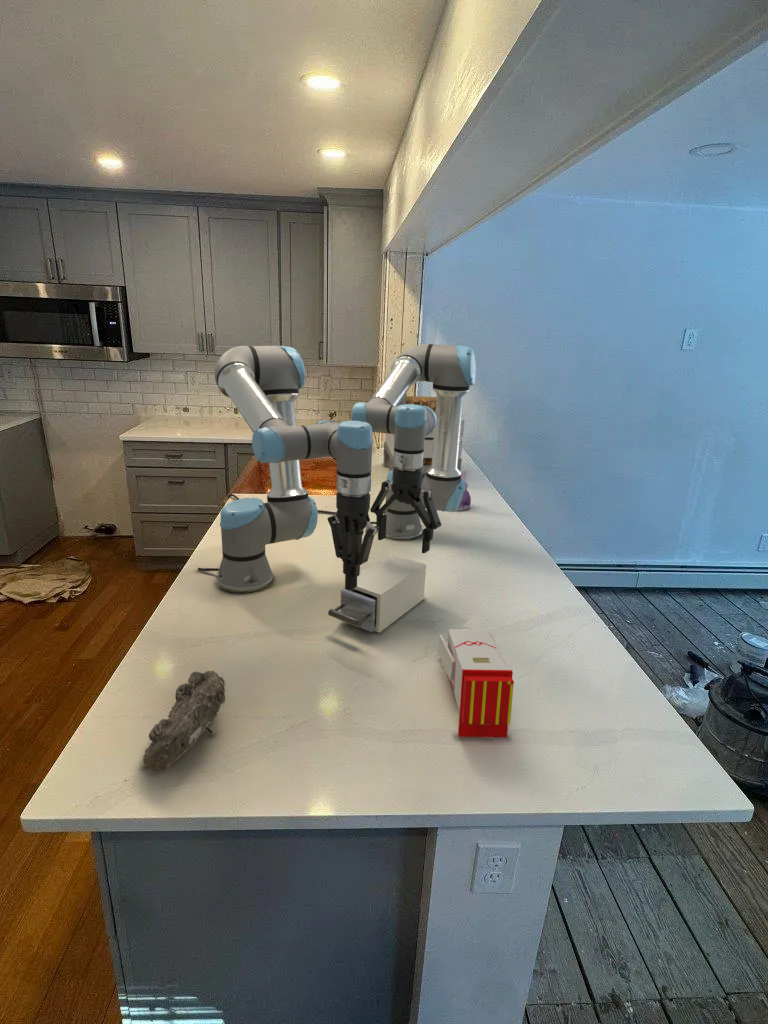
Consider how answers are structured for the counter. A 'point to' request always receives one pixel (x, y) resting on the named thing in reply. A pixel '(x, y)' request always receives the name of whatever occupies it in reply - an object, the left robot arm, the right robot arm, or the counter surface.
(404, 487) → the right robot arm
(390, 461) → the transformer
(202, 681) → the fossil
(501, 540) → the counter surface
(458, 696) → the white and red box
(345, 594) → the drawer
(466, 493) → the figurine
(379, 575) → the cabinet
